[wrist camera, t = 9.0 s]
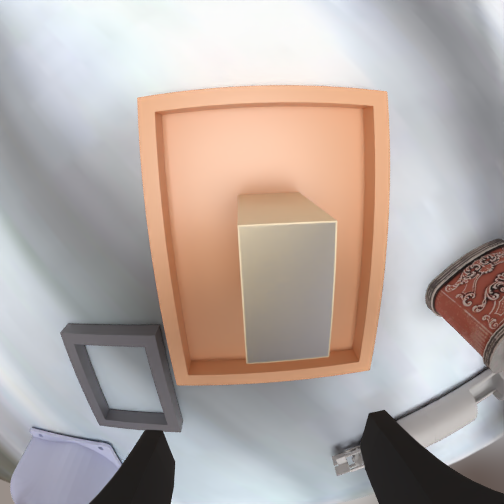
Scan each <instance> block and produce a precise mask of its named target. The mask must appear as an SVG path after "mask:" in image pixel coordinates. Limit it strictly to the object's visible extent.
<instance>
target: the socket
mask: <svg viewBox="0 0 504 504" xmlns="http://www.w3.org/2000/svg"><path fill="white" fill-rule="evenodd" d="M60 334H61V337H62V339H63V342H64V345H65V348H66V350H67V353H68V356H69V358H70V361H71V363H72V366H73V368H74V371H75V373H76V376H77V378H78V380H79V383H80V385H81V387H82V390H83V392H84V394H85V396H86V398H87V401H88V403H89V405H90V407H91V409H92V411H93V413H94V415H95V417H96V419H97V421H98V423H99V425H101V426H109V427H117V428H126V429H136V430H146V429H147V430H163V431H164V432H181V429H182V423H183V419H182V416H181V412H180V409H179V405H178V402H177V398H176V394H175V390H174V386H173V382H172V378H171V374H170V370H169V366H168V362H167V358H166V353H165V349H164V345H163V340H162V335H161V331H160V326H159V325H92V324H67V325H66V327H65V328H64V329H63V330H62V331H61V333H60ZM85 345H98V346H127V347H145V350H146V354H147V358H148V361H149V365H150V369H151V372H152V376H153V379H154V383H155V386H156V389H157V393H158V396H159V399H160V402H161V406H162V409H163V412H164V413H149V412H134V411H123V410H112V409H109V407H108V405H107V402H106V400H105V398H104V395H103V393H102V391H101V388H100V386H99V383H98V381H97V378H96V376H95V373H94V370H93V368H92V365H91V362H90V360H89V357H88V354H87V351H86V348H85Z"/></svg>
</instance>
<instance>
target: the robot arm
mask: <svg viewBox="0 0 504 504" xmlns="http://www.w3.org/2000/svg"><path fill="white" fill-rule="evenodd" d="M30 433H31V434H32V436H33V437H32V439H31V441H30V443H29V444H28V446H27V448H26V450H25V452H24V454H23V456H22V457H21V459H20V461H19V463H18V465H17V467H16V469H15V471H14V473H13V475H12V479H11V496H12V499H13V501H14V503H15V504H171V499H172V493H173V488H174V475H175V460H174V458H173V456H172V453H171V451H170V448H169V446H168V443H167V441H166V438H165V435H164V433H163V430H147V429H146V430H145V431H144V432H143V434H142V435H141V437H140V439H139V440H138V442H137V443H136V445H135V446H134V448H133V449H132V451H131V452H130V454H129V455H128V457H127V458H126V460H125V461H124V462H123V464H121V462H120V461H119V459H118V457H117V455H116V454H115V452H114V450H113V448H112V447H111V446H110V445H109V444H107V443H101V442H95V441H89V440H84V439H78V438H73V437H68V436H64V435H59V434H55V433H50V432H46V431H42V430H38V429H35V428H31V429H30ZM360 450H361V454H362V458H363V462H364V466H365V470H366V472H367V475H368V477H369V480H370V482H371V485H372V487H373V490H374V492H375V495H376V497H377V499H378V502H379V504H504V494H503V493H500V492H497V491H494V490H492V489H489V488H487V487H485V486H483V485H481V484H478V483H476V482H474V481H472V480H470V479H468V478H467V477H465V476H463V475H461V474H460V473H458V472H456V471H455V470H453V469H452V468H450V467H449V466H447V465H446V464H445V463H443V462H442V461H440V460H439V459H438V458H437V457H435V456H434V455H433V454H431V453H430V452H429V451H428V450H427V449H425V448H424V447H423V446H422V445H421V444H420V443H419V442H417V441H416V440H415V439H414V438H413V437H412V436H411V435H410V434H409V433H408V432H407V431H406V430H405V429H403V428H402V427H401V426H400V425H399V424H398V423H397V422H396V421H395V420H394V419H393V418H392V417H391V416H390V415H389V414H388V413H387V412H386V411H385V410H382V411H378V412H373V413H369V415H368V419H367V422H366V426H365V430H364V433H363V437H362V440H361V444H360Z"/></svg>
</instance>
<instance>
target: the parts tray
mask: <svg viewBox="0 0 504 504" xmlns="http://www.w3.org/2000/svg"><path fill="white" fill-rule="evenodd" d="M137 102H138V126H139V143H140V157H141V170H142V181H143V191H144V201H145V210H146V218H147V226H148V234H149V241H150V248H151V255H152V262H153V268H154V275H155V281H156V287H157V292H158V298H159V304H160V309H161V314H162V319H163V324H164V329H165V334H166V339H167V344H168V348H169V353H170V357H171V362H172V366H173V371H174V375H175V379H176V383H177V385H233V384H253V383H268V382H280V381H291V380H301V379H311V378H319V377H327V376H335V375H342V374H349V373H355V372H361V371H367V370H370V366H371V360H372V355H373V350H374V344H375V338H376V332H377V325H378V319H379V312H380V304H381V297H382V289H383V280H384V270H385V260H386V248H387V234H388V217H389V191H390V139H389V113H388V97H387V92H386V91H378V90H368V89H358V88H345V87H328V86H300V85H269V86H240V87H223V88H210V89H199V90H189V91H181V92H173V93H165V94H158V95H151V96H145V97H139V98H137ZM291 192H299V193H301V194H302V195H304V196H305V197H306V198H308V199H309V200H310V201H312V202H313V203H314V204H316V205H317V206H318V207H320V208H321V209H322V210H324V211H325V212H326V213H328V214H329V215H330V216H332V217H333V218H334V219H336V220H337V249H336V272H335V290H334V306H333V319H332V331H331V343H330V353H329V357H323V358H314V359H305V360H294V361H283V362H270V363H255V364H246V350H245V336H244V321H243V306H242V291H241V276H240V260H239V243H238V227H237V222H238V195H245V194H265V193H291Z"/></svg>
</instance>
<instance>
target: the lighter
mask: <svg viewBox="0 0 504 504" xmlns="http://www.w3.org/2000/svg"><path fill="white" fill-rule="evenodd" d="M425 299H426V304H427V306H428V308H429V309H431V310H432V311H433V312H434V313H435V314H436V315H437V316H440V317H443V318H444V319H445V320H446V321H447V322H448V323H449V324H450V325H451V326H452V327H453V328H454V329H455V330H456V331H457V332H458V333H459V334H460V335H461V336H462V337H463V338H464V339H465V340H466V341H467V342H468V343H469V344H470V345H471V346H472V347H473V348H474V349H475V350H476V351H477V352H478V353H479V354H480V355H481V356H482V357H483V362H484V364H485V365H486V366H487V367H488V368H489V369H490V370H491V371H492V372H493V373H495V374H498V373H500V372H502V371H504V241H503V240H501V239H495V240H493V241H490V242H488V243H485V244H483V245H481V246H479V247H477V248H476V249H474V250H472V251H470V252H469V253H467V254H465V255H464V256H463V257H461V258H460V259H459V260H457V261H456V262H454V263H453V264H452V265H450V266H449V267H448V268H447V269H446V270H444V271H443V272H442V273H441V274H440V275H439V276H437V277H436V278H435V279H434V280H433V281H432V282H431V283H430V284H429V286H428V288H427V291H426V296H425Z"/></svg>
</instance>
